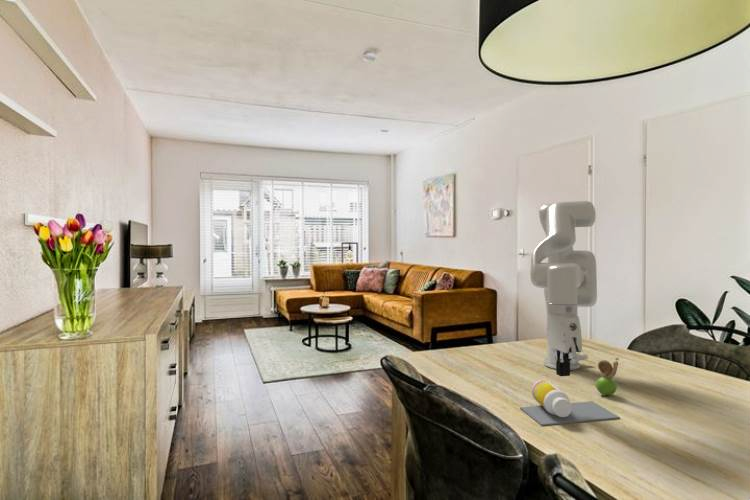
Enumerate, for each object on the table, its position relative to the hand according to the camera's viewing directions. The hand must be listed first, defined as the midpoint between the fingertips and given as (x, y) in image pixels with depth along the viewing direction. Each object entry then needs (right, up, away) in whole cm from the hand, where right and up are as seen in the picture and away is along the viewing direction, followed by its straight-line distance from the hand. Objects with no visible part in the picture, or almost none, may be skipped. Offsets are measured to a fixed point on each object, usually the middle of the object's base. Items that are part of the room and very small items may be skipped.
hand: (563, 375), depth 117 cm
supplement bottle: (-4, -6, +4) cm, 8 cm away
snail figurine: (+17, -9, +9) cm, 21 cm away
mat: (0, -9, -4) cm, 10 cm away
